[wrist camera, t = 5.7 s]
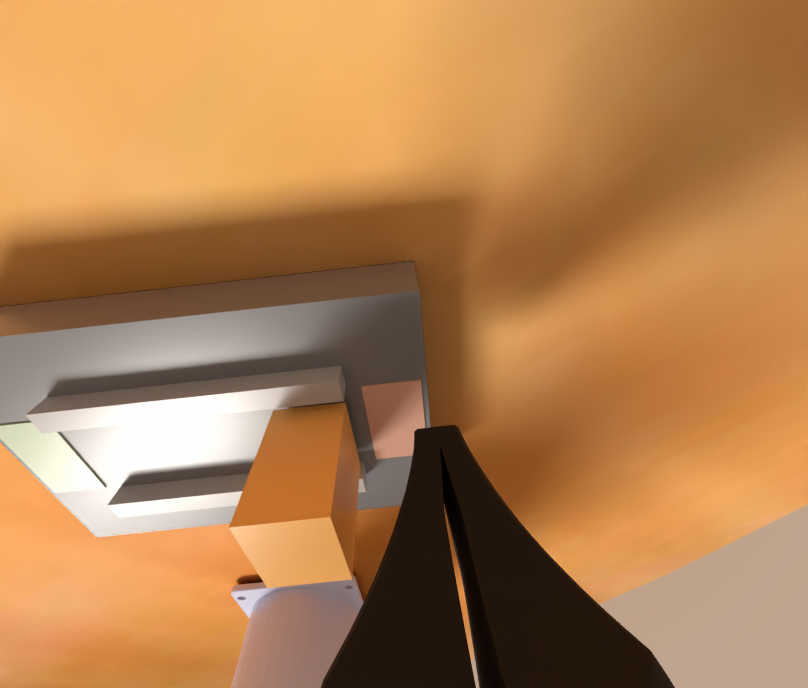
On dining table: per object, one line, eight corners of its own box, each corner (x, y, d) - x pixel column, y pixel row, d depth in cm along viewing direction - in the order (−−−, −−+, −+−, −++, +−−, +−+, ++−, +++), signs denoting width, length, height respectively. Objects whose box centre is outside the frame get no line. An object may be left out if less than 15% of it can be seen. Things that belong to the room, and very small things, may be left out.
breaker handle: (360, 462, 13) (352, 579, 10) (296, 469, 13) (267, 587, 10) (345, 402, 12) (330, 517, 8) (273, 410, 12) (228, 527, 8)
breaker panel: (429, 456, 18) (438, 519, 15) (130, 487, 18) (83, 556, 15) (413, 261, 12) (422, 302, 9) (-15, 308, 12) (-130, 363, 10)
